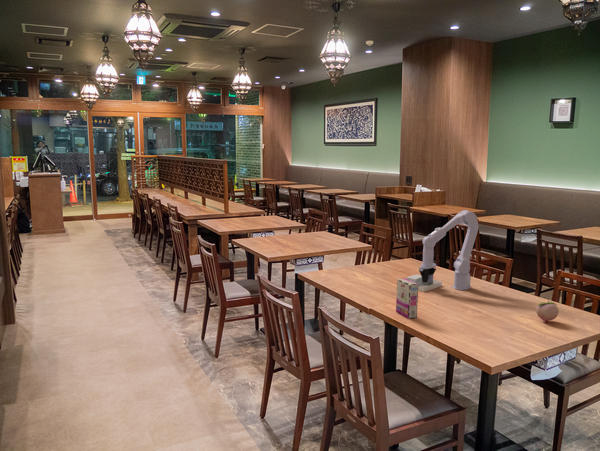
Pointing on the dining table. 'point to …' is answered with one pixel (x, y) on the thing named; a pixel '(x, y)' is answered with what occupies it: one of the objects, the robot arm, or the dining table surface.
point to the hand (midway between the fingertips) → (427, 281)
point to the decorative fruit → (547, 311)
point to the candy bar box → (407, 298)
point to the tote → (430, 286)
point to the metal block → (428, 280)
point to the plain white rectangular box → (415, 279)
